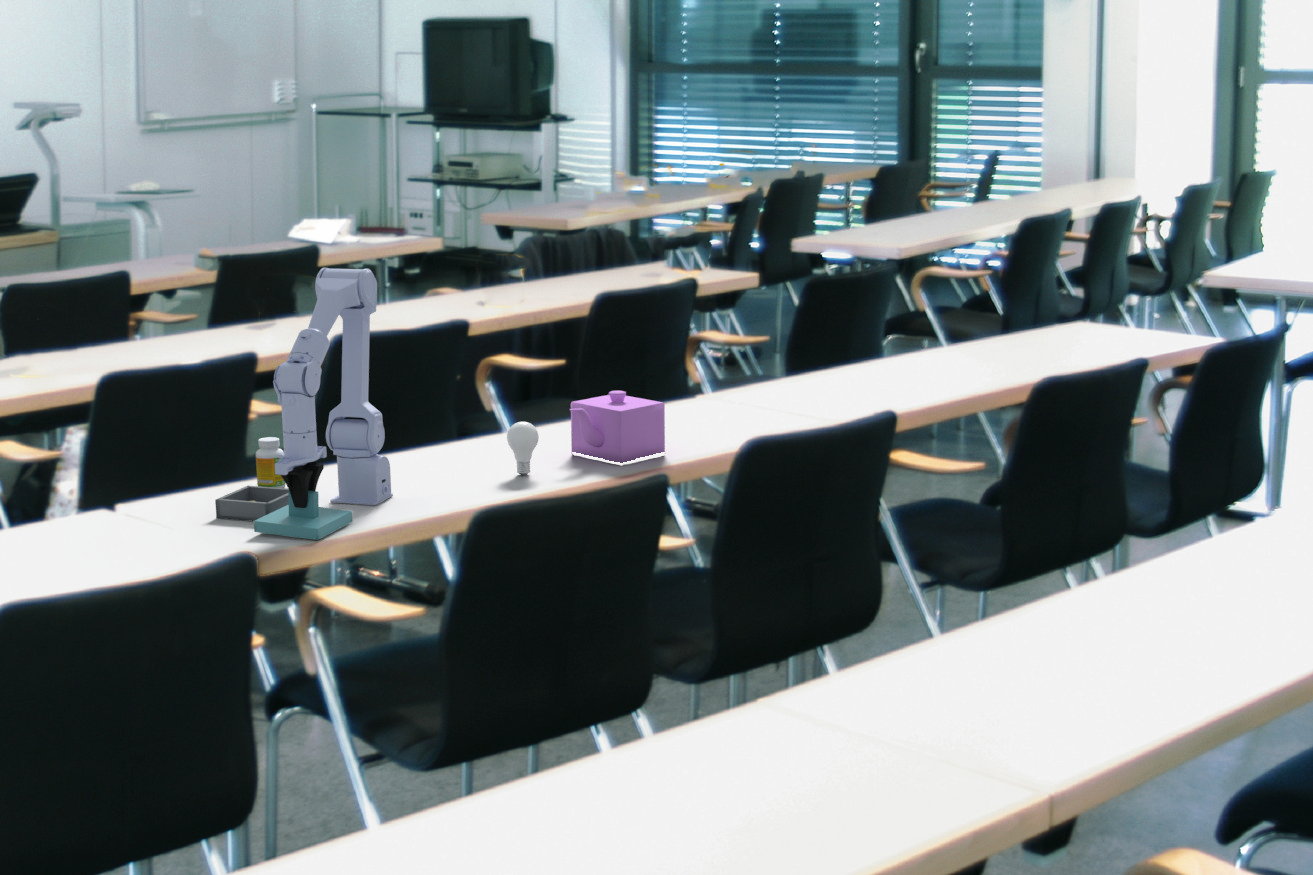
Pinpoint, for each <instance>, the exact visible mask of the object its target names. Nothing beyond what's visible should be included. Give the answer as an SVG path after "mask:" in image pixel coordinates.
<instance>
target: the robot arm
mask: <svg viewBox="0 0 1313 875" xmlns="http://www.w3.org/2000/svg"><path fill="white" fill-rule="evenodd" d="M314 283H315V284H314V285H315V286H314V287H315V294H316V296H315V297H316V299H317V300H316V303H315V306H314V308H313V312H312V316H311V317H310V318H311V319H310V321H309V324H308V327H307V328H304V329H301V330H300V332H298V335H297V337H296V339H295V342H294V343H293V346H292V348H291V350H290V352H289V354H288V357H287V359H286V361H284V362H282V363H281V364H280V365H277V367H276V368H275V370H274V374H273V381H272V383H273V388H274V391H275V393H276V395H277V403H278V405H279V406H281V420H282V421H281V422H282V435H283V437H282V438H283V452H284V453H281V454H279V458H280V460H279V462H277V463H275V474H276V475H281V477H282V478H283V479H284V481H285V483H286V485H285V486H286V488H287V489H289V492H290V494H291V497H292V501H293V504H294V507H296V508H306V507H307V503H308V491H316V489H317V486H318V482H319V479H320V477H321V474H322V472H323V470H324V469H325V468H324V467H325V466H324V463H322V462H317V461H318V460H319V459H325V458H327V457H328V455H327V454H328V453H327V446H328V448H329V449H330V450H331V451H332V452H333V456H336V464H337V481H338V482H337V483H338V495H337V496H335V497H333V498H330V500H329V501H330V502H331V503H337V504H338V503H340V504H351V505H363V506H364V505H365V506H377V505H378V504H380V503H382V502H384V501H386V500H387V499H389V498H392V497H393V496H394V493H392V481H391V479H392V478H391V477H392V476H391V464H390V460H389V459H388V457H387V456H384V455H381V454H378V453H379V452H380V451H381V449H382V448H383V446H384V443H385V437H386V436H385V434H386V433H385V427H384V422H383V421H384V420H383V414H382V412H381V411H380V410H378V409H377V408H376V407H375V406H374V405H372V404H371V403H370V402H369V381H370V378H369V376H370V375H369V373H370V371H369V370H370V331H371V330H370V324H371V321H370V320H371V315H373V314H374V313H376V312H377V305H378V304H377V303H378V281H377V279H376V276H375V275H374V273H373V271H372V270H371V269H370V268H363V269H359V268H355V269H354V268H328V267H322V268H321V269H320V270H319V271H318V272H317V275H316V278H315V282H314ZM339 316H340V318H341V319H342V337H341V338H342V339H341V340H342V342H341V343H342V345H341V346H342V347H341V350H342V351H341V352H342V353H341V389H340V391H341V392H340V394H341V395H340V396H341V397H340V398H341V400H340V403H339V404H338V405H337V406H335V407H334V408H333V409H332V410H330V411H329V415H328V422H327V425H326V430H325V442H326V444H327V446H325V445H324V446H323V445H321V446H320V445H318V436H317V434H318V433H317V422H316V421H317V420H316V419H317V418H316V416H317V415H316V402H315V401H316V400H315V399H316V398H315V397H316V396H315V395H316V394H317V393H318V391H319V389H320V385H321V375H322V372H323V369H322V367H321V366H322V364H323V362H324V359H325V357H326V355H327V353H328V352H329V351H328V350H329V349H330V348H329V347H330V344H331V343H330V340H329V338H328V335H329V333H330V331H331V329H332V328H333V326H334V324H335V322H336V321H337V319H338V317H339ZM353 418H355V419H353ZM356 418H357V419H356ZM358 418H362V419H358Z"/></svg>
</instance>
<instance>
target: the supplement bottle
mask: <svg viewBox="0 0 1313 875" xmlns="http://www.w3.org/2000/svg"><path fill="white" fill-rule="evenodd" d="M280 444H281V443H280V438H279V437H275V436H267V437H262V438H261V437H260V438H259V439H258V447H259V449H257V450H256V452H255V465H256V467H255V468H256V482H257V484H256V486H260V487H273V488H285V487H286V486H287V485H286V483H285V481H284V479H283V478H282V477H281V475H276V474H275V463H277V462H279V460H280V458H279V454H281V453H284V449H282V448H279V447H280Z"/></svg>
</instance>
